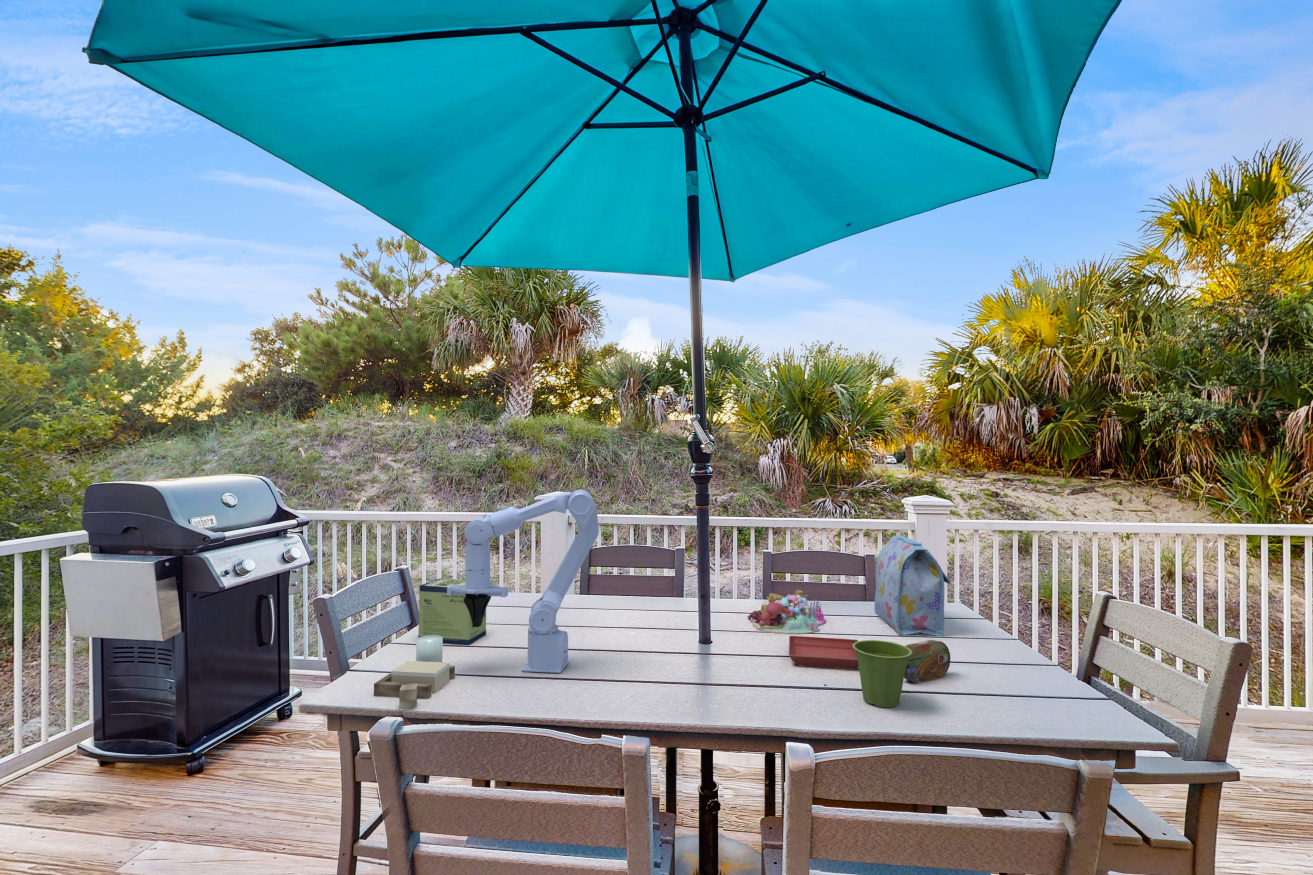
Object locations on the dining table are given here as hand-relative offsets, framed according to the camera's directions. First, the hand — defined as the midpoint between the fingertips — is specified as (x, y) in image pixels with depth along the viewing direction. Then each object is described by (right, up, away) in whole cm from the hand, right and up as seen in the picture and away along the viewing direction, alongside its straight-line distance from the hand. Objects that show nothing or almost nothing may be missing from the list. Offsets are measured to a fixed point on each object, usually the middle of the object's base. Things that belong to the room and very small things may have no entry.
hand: (477, 625), depth 154 cm
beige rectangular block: (-9, -10, -11) cm, 18 cm away
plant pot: (+90, -11, -19) cm, 93 cm away
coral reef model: (+83, -13, +44) cm, 95 cm away
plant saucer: (+86, -12, +10) cm, 87 cm away
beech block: (-8, -10, -22) cm, 26 cm away
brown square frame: (-11, -10, -11) cm, 19 cm away
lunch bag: (+120, -12, +40) cm, 127 cm away
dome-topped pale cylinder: (-12, -10, +1) cm, 16 cm away
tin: (+105, -11, -4) cm, 106 cm away
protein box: (-14, -11, +26) cm, 31 cm away
